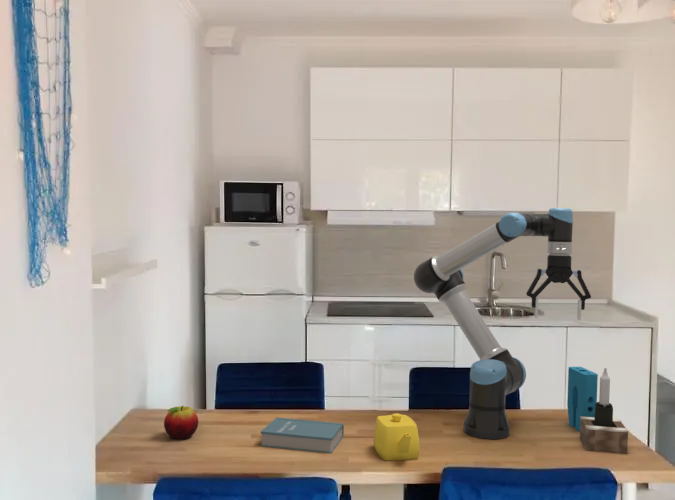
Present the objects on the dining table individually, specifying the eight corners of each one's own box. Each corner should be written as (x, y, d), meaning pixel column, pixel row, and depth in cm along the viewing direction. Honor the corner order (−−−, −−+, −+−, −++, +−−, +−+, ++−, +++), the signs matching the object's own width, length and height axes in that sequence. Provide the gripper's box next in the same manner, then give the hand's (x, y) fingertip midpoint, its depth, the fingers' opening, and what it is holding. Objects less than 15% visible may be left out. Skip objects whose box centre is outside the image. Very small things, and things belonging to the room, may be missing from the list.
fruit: (205, 436, 209) (205, 405, 208) (175, 444, 201) (176, 412, 201) (185, 428, 216) (186, 399, 216) (157, 436, 208) (157, 405, 208)
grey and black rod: (610, 443, 209) (613, 366, 208) (611, 449, 204) (614, 370, 203) (593, 441, 210) (596, 365, 209) (594, 447, 205) (597, 368, 204)
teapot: (427, 464, 188) (428, 424, 187) (386, 467, 185) (387, 426, 185) (406, 441, 208) (407, 405, 207) (368, 443, 205) (369, 406, 204)
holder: (585, 450, 202) (586, 427, 202) (579, 437, 214) (580, 416, 214) (627, 453, 200) (628, 430, 200) (619, 440, 212) (619, 419, 211)
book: (260, 447, 201) (260, 431, 201) (277, 431, 217) (277, 416, 217) (331, 454, 196) (331, 438, 196) (343, 437, 211) (343, 422, 211)
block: (596, 433, 219) (598, 374, 218) (582, 433, 218) (584, 374, 217) (579, 422, 231) (580, 366, 230) (565, 422, 230) (567, 366, 229)
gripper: (521, 254, 214) (519, 318, 215) (601, 256, 209) (599, 322, 210) (519, 253, 221) (517, 315, 222) (597, 255, 216) (595, 318, 217)
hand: (557, 318), depth 216 cm, fingers open, 13 cm apart
